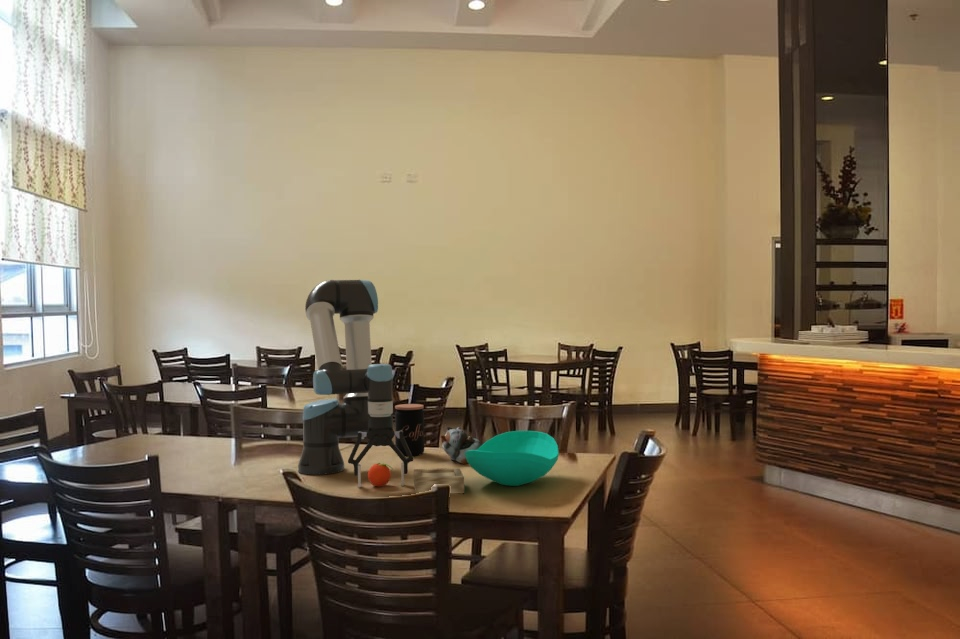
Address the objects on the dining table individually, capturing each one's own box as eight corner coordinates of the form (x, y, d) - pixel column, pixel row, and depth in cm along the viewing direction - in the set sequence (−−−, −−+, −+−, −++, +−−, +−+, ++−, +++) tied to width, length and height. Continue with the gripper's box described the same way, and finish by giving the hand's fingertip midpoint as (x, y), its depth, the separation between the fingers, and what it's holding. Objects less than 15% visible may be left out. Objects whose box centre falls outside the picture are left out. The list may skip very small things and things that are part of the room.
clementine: (396, 483, 244) (396, 460, 243) (391, 489, 237) (391, 465, 237) (370, 483, 244) (370, 460, 244) (365, 488, 237) (365, 465, 237)
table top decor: (489, 468, 265) (489, 429, 265) (570, 473, 257) (570, 432, 256) (447, 495, 228) (446, 449, 228) (540, 501, 219) (540, 454, 219)
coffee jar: (399, 457, 286) (398, 408, 286) (392, 452, 297) (392, 404, 296) (427, 455, 290) (427, 406, 290) (420, 450, 300) (419, 403, 300)
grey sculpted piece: (473, 466, 269) (453, 431, 268) (447, 476, 275) (428, 442, 275) (492, 446, 282) (472, 413, 281) (466, 456, 288) (447, 424, 287)
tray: (415, 495, 228) (415, 479, 228) (414, 484, 242) (413, 469, 242) (464, 493, 229) (464, 477, 229) (459, 483, 243) (459, 467, 243)
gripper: (338, 417, 235) (339, 489, 235) (421, 415, 238) (422, 486, 238) (340, 414, 242) (341, 484, 243) (420, 412, 245) (421, 481, 246)
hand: (381, 485), depth 240 cm, fingers open, 12 cm apart
